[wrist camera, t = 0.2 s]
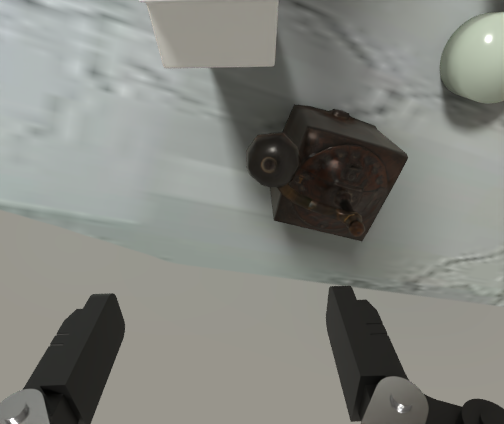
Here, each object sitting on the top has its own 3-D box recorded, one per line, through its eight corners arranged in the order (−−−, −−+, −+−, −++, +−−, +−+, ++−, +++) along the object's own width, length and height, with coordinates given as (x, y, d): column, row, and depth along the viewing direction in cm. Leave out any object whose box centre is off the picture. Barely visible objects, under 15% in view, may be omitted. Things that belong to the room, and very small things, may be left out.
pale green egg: (452, 12, 33) (475, 11, 30) (531, 12, 33) (564, 11, 30) (430, 96, 37) (449, 103, 34) (501, 95, 37) (527, 103, 34)
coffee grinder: (381, 121, 38) (473, 189, 23) (342, 202, 44) (396, 304, 28) (251, 83, 36) (254, 130, 20) (227, 174, 41) (215, 267, 26)
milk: (261, 45, 34) (282, 78, 15) (202, 46, 34) (148, 81, 15) (261, -28, 31) (286, -100, 12) (196, -27, 31) (119, -97, 12)
